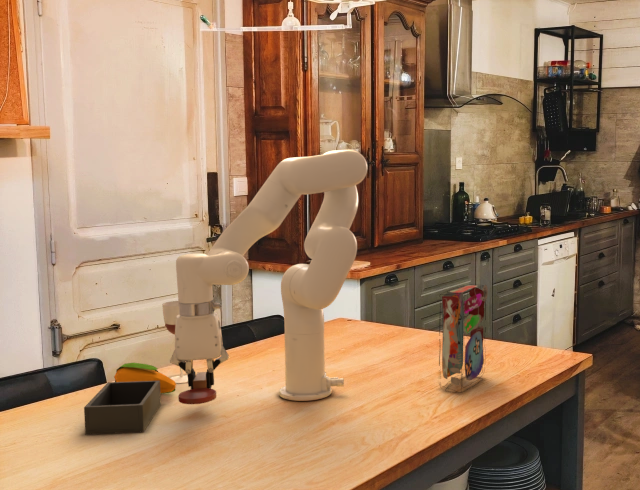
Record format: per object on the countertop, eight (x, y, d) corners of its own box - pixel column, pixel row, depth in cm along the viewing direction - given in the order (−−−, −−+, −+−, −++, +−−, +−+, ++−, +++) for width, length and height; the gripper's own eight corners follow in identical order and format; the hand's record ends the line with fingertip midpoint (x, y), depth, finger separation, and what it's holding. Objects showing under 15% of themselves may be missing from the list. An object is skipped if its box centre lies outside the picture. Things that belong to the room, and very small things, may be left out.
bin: (160, 404, 180) (160, 380, 179) (143, 432, 161) (142, 405, 160) (108, 406, 178) (107, 382, 178) (85, 434, 159) (83, 407, 159)
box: (476, 368, 212) (477, 279, 210) (497, 370, 209) (498, 281, 207) (438, 391, 190) (438, 292, 188) (461, 394, 187) (462, 294, 185)
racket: (221, 383, 181) (221, 370, 180) (214, 403, 166) (213, 389, 165) (186, 385, 180) (185, 372, 179) (175, 405, 165) (174, 391, 164)
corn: (129, 355, 195) (187, 364, 185) (132, 384, 197) (189, 395, 187) (105, 363, 189) (163, 373, 179) (108, 393, 190) (166, 405, 180)
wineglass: (158, 381, 199) (155, 304, 197) (180, 373, 207) (177, 299, 205) (183, 384, 196) (181, 306, 194) (204, 376, 204) (202, 301, 202)
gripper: (235, 304, 178) (239, 382, 180) (162, 308, 176) (167, 386, 178) (231, 310, 171) (236, 391, 173) (155, 314, 169) (161, 396, 171)
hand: (201, 388), depth 176 cm, fingers closed on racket, 2 cm apart
